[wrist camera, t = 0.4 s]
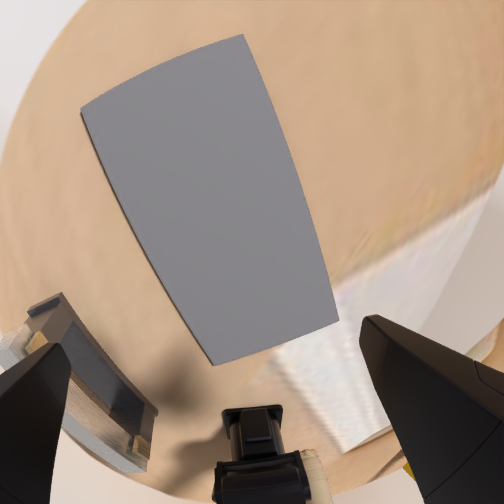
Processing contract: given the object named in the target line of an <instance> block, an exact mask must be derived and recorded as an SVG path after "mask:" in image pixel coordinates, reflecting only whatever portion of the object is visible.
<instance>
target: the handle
mask: <svg viewBox="0 0 504 504" xmlns="http://www.w3.org/2000/svg"><path fill="white" fill-rule="evenodd" d="M300 455H301V458H302V461H303V464H304V468H305V471H306V474H307V477H308V480H309V485H310V489H311V497H312V500H311V501H307V502H306V503H307V504H333V501H332V496H331V492H330V487H329V483H328V479H327V477H326V473H325V470H324V468H323V465H322V463H321V461H320V459H319V458H317V457H318V454H317V452H316V450H305V451H303V452H300Z"/></svg>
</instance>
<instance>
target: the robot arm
mask: <svg viewBox="0 0 504 504" xmlns="http://www.w3.org/2000/svg"><path fill="white" fill-rule="evenodd" d="M359 345H360V348H361V351H362V354H363V357H364V359H365V362H366V365H367V368H368V371H369V374H370V377H371V380H372V382H373V385H374V388H375V390H376V392H377V395H378V397H379V399H380V401H381V403H382V405H383V407H384V409H385V412H386V414H387V416H388V418H389V420H390V422H391V425H392V427H393V429H394V431H395V434H396V436H397V438H398V440H399V442H400V445H401V447H402V449H403V452H404V454H405V456H406V459H407V461H408V463H409V466H410V468H411V470H412V473H413V475H414V478H415V480H416V483H417V485H418V487H419V490H420V492H421V495H422V497H423V499H424V503H425V504H504V373H503V372H500V371H498V370H495V369H493V368H491V367H488V366H486V365H484V364H482V363H480V362H478V361H476V360H474V361H473V359H471V358H469V357H467V356H465V355H463V354H460V353H458V352H456V351H454V350H452V349H450V348H448V347H445V346H443V345H441V344H439V343H437V342H435V341H433V340H431V339H428V338H426V337H424V336H422V335H420V334H418V333H416V332H414V331H412V330H409V329H407V328H405V327H403V326H401V325H399V324H397V323H395V322H392V321H390V320H388V319H386V318H384V317H382V316H380V315H377V314H375V315H370V316H366V317H364V319H363V321H362V326H361V332H360V337H359ZM70 375H71V362H70V360H69V358H68V356H67V354H66V353H65V351H64V349H63V346H62V345H61V344H60V343H59V342H48V343H46V344H44V345H43V346H41V347H40V348H39V349H37V350H36V351H34V352H33V353H31V354H30V355H28V356H27V357H25V358H24V359H22V360H21V361H19V362H18V363H16V364H15V365H14V366H12V367H11V368H9V369H8V370H6V371H5V372H4V373H2V374H1V375H0V504H49V503H50V493H51V483H52V476H53V469H54V462H55V456H56V450H57V445H58V439H59V435H60V430H61V425H62V421H63V416H64V411H65V406H66V399H67V393H68V386H69V380H70ZM282 413H283V408H282V406H281V405H273V406H264V407H254V408H242V409H228V410H225V411H224V417H225V424H226V430H227V437H228V439H230V440H231V451H232V461H229V462H222V461H221V462H217V467H216V468H214V472H215V483H214V488H213V492H212V500H213V501H214V502H215V503H217V504H306V502H307V501H311V500H312V497H311V489H310V485H309V480H308V477H307V474H306V471H305V468H304V464H303V461H302V458H301V455H300V452H299V450H297V451H294V452H291V453H285V450H284V446H283V441H282V437H281V432H280V429H281V421H282Z"/></svg>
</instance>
